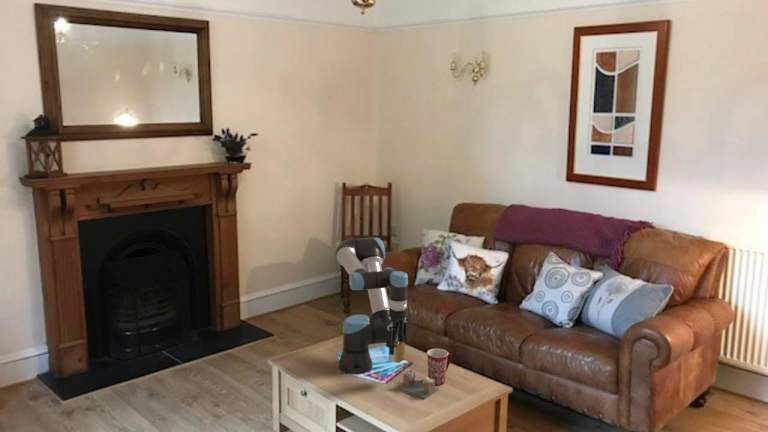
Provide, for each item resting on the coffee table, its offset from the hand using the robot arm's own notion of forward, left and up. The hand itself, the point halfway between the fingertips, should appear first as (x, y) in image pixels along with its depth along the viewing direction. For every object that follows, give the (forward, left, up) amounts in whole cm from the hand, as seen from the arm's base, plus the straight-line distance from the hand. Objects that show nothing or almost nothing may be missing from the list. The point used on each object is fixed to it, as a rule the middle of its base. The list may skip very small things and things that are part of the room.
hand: (396, 358), depth 275 cm
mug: (+14, +13, -11) cm, 22 cm away
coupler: (0, 0, 0) cm, 1 cm away
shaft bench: (+12, 0, -10) cm, 16 cm away
